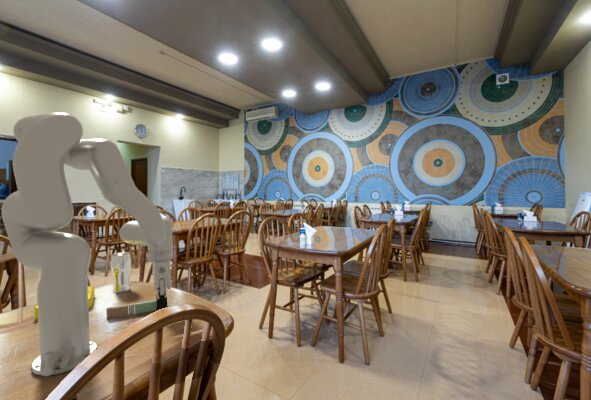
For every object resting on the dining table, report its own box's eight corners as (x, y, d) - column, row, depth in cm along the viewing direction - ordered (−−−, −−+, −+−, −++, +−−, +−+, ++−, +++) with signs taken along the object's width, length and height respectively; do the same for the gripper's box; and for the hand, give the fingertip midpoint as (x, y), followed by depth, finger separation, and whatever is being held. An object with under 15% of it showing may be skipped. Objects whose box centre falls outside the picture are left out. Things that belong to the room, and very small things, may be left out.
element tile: (91, 311, 97) (91, 297, 96) (33, 322, 89) (32, 307, 88) (95, 296, 109) (94, 284, 109) (44, 304, 101) (43, 291, 101)
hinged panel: (134, 315, 92) (134, 298, 91) (135, 311, 94) (134, 295, 94) (166, 309, 96) (166, 293, 96) (166, 306, 99) (166, 290, 99)
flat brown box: (172, 317, 92) (172, 306, 92) (102, 330, 83) (102, 318, 83) (169, 296, 109) (169, 286, 109) (111, 305, 100) (110, 295, 100)
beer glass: (107, 291, 112) (106, 255, 112) (123, 286, 119) (122, 251, 118) (119, 294, 110) (118, 256, 109) (135, 288, 116) (134, 252, 115)
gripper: (174, 259, 90) (175, 315, 91) (170, 248, 105) (171, 296, 106) (148, 262, 87) (149, 320, 88) (147, 250, 101) (149, 300, 102)
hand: (161, 306), depth 97 cm, fingers closed on hinged panel, 3 cm apart
